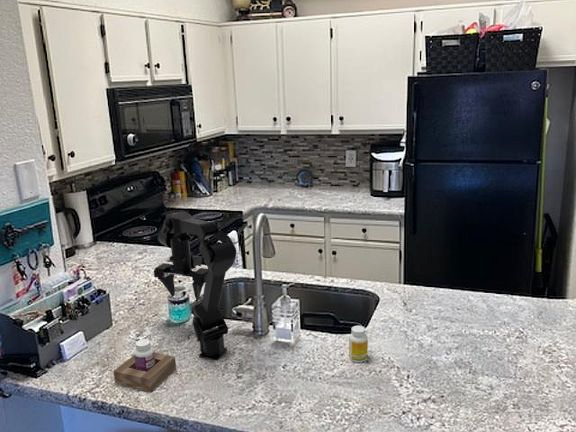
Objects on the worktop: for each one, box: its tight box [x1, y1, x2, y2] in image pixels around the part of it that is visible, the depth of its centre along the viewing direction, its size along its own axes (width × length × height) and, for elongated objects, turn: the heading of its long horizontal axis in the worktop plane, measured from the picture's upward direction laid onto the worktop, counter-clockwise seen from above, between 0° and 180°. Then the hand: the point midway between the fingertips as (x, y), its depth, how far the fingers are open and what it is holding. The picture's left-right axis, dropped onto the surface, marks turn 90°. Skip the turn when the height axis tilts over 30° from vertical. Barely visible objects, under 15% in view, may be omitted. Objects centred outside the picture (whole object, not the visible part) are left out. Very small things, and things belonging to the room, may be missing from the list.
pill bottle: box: [133, 338, 155, 372], centre depth 147 cm, size 5×5×10 cm
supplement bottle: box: [348, 325, 369, 363], centre depth 152 cm, size 5×5×10 cm
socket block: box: [112, 352, 177, 393], centre depth 148 cm, size 12×12×4 cm
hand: (185, 297), depth 168 cm, fingers open, 9 cm apart
